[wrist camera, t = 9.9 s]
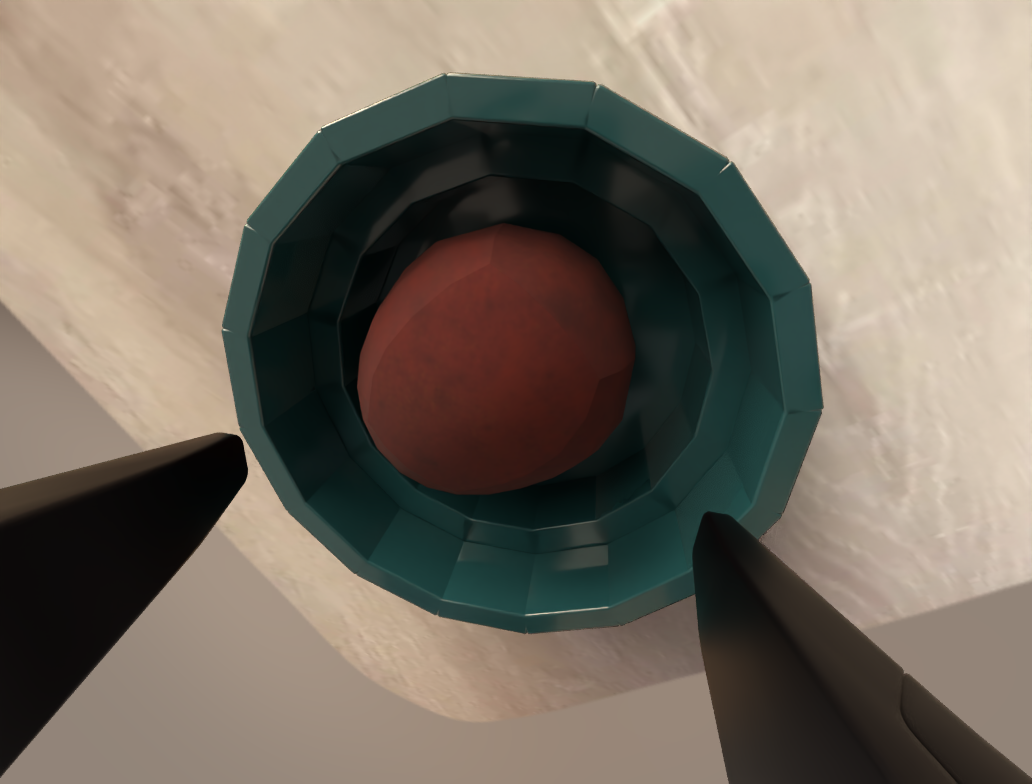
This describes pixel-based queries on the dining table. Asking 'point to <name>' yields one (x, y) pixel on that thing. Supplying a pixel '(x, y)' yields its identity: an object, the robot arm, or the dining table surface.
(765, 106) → the dining table surface
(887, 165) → the dining table surface
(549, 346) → the potato
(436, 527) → the bowl
